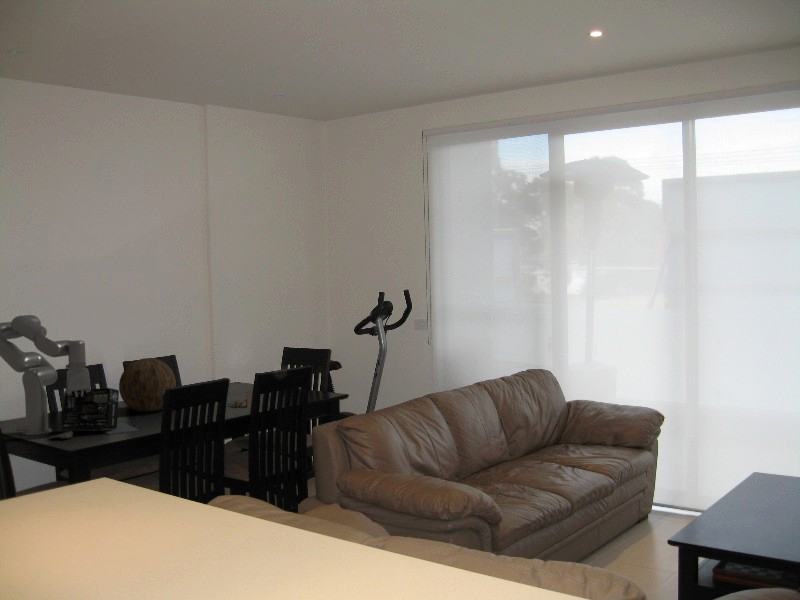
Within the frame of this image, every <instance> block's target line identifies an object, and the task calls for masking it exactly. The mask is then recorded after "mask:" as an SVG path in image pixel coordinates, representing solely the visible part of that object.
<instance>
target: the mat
mask: <svg viewBox="0 0 800 600" xmlns="http://www.w3.org/2000/svg"><path fill="white" fill-rule="evenodd" d="M98 430H99V431H100V432H102V433H105V434H107V435H109V436H111V435H120V434H125V433H135V432H139V431H140V430H139V428H136V427H133V426H132V425H129V424H127V423H125V422H121V423H117V428H116V429H98Z"/></svg>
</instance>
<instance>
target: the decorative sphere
mask: <svg viewBox="0 0 800 600" xmlns="http://www.w3.org/2000/svg"><path fill="white" fill-rule="evenodd" d="M172 387H176V388H177V380H176V375H175V373H174V372H173V369H172V368H171V367H170V366H169V365H168V364H167V363H165V362H164V361H162V360H159V359H157V358H151V357H150V358H149V357H147V358H141V359H138V360H135V361H132V362H131V363H130V364H129V365H128V366H127V367H126V368H125V369H124V370H123V372H122V373H121V376H120V378H119V383H118V390H119V394H120V395H119V396H120V397H121V399H122V401H123V402H124V404H125V405H126V406H127V407H129V408H130V409H132V410H134V411H135V412H138V413H143V412H147V413H155V412H158V411H160V410H162V409H163V408H162V405H163V395H164V393H165V390H166V389H168V388H172Z"/></svg>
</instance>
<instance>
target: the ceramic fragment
mask: <svg viewBox="0 0 800 600" xmlns="http://www.w3.org/2000/svg"><path fill="white" fill-rule="evenodd" d="M73 436H74V430H68V431H65V432H62V433H59V434H56V435H50V436H49V437H48V438H49V439H56V438H59V439H70V438H72V437H73Z"/></svg>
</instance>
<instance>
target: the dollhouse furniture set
mask: <svg viewBox="0 0 800 600" xmlns="http://www.w3.org/2000/svg"><path fill="white" fill-rule="evenodd" d="M233 402H234V403H228V404H227V406H228V405H232V406H236V408H240V407H241V406H243V405H242V404H246V405H245V407H246V406H247V407H248V406H249V408H251V407H250V404H251V403H252V392H251V391H247V393H246V399H245V400H244V401H240V400H234V401H233ZM239 406H240V407H239ZM247 407H246V408H247Z"/></svg>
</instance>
